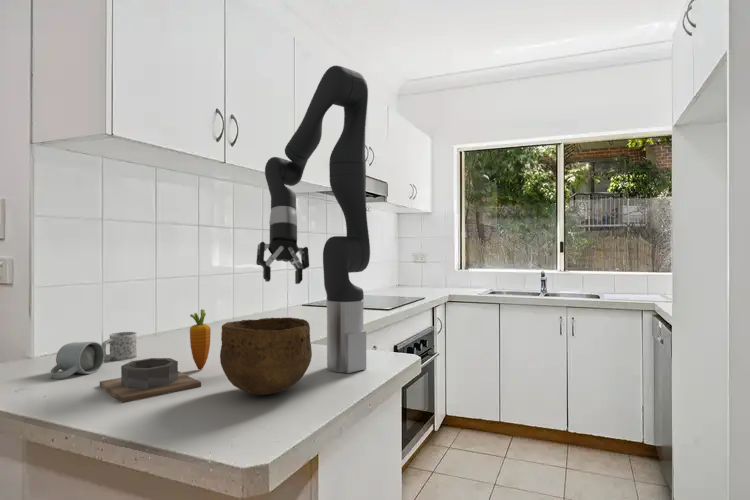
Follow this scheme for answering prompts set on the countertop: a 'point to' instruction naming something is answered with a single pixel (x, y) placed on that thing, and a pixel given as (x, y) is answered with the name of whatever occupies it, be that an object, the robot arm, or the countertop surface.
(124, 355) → the mug
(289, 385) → the bowl
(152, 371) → the ring holder
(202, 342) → the carrot
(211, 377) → the countertop surface
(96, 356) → the ceramic mug
